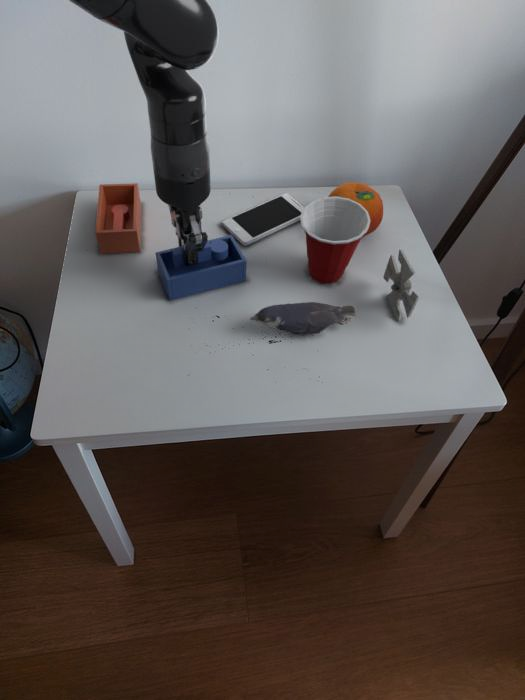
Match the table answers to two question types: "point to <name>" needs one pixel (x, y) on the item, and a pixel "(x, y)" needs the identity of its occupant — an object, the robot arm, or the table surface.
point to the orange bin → (104, 224)
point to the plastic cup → (332, 235)
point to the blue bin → (201, 272)
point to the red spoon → (120, 216)
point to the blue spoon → (203, 253)
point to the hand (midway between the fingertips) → (189, 259)
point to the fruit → (363, 201)
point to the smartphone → (264, 219)
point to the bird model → (304, 317)
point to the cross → (400, 285)
